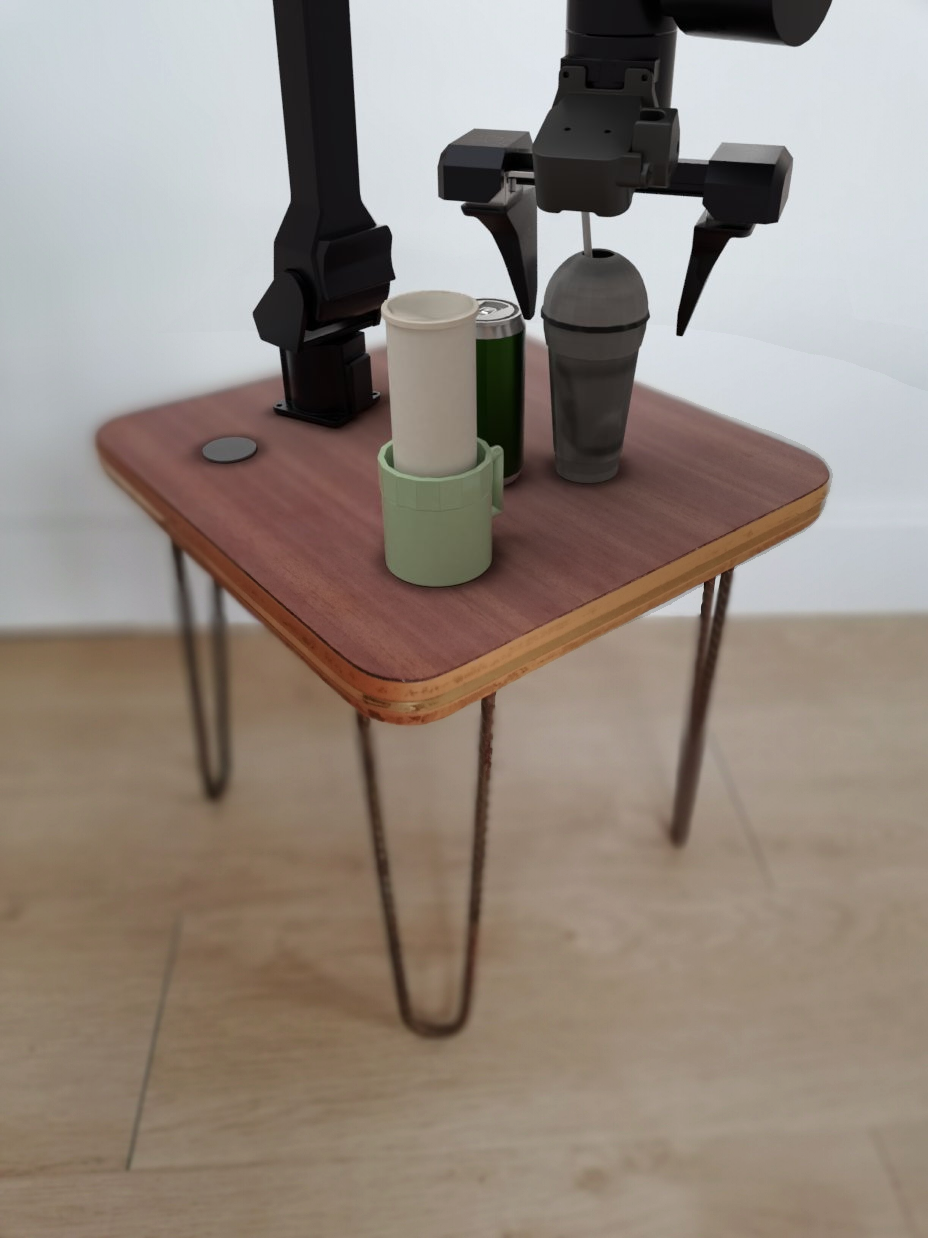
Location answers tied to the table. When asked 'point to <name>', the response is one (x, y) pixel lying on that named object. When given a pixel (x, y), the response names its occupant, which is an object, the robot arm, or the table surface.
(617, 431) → the beverage cup
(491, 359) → the beer can
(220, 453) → the coaster
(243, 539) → the table surface
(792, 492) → the table surface
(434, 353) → the paper cup
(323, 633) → the table surface
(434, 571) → the mug
